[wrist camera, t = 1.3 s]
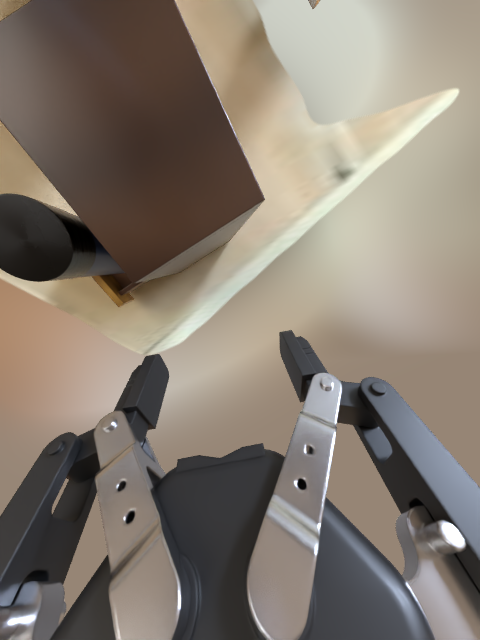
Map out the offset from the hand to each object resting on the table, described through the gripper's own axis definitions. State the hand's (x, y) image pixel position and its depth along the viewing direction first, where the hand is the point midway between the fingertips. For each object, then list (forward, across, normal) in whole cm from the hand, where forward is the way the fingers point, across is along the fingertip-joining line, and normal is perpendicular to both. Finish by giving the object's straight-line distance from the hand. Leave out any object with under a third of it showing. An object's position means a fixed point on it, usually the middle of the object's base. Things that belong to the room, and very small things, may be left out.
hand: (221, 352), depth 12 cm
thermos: (+24, +14, -3) cm, 28 cm away
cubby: (+28, +5, -6) cm, 29 cm away
